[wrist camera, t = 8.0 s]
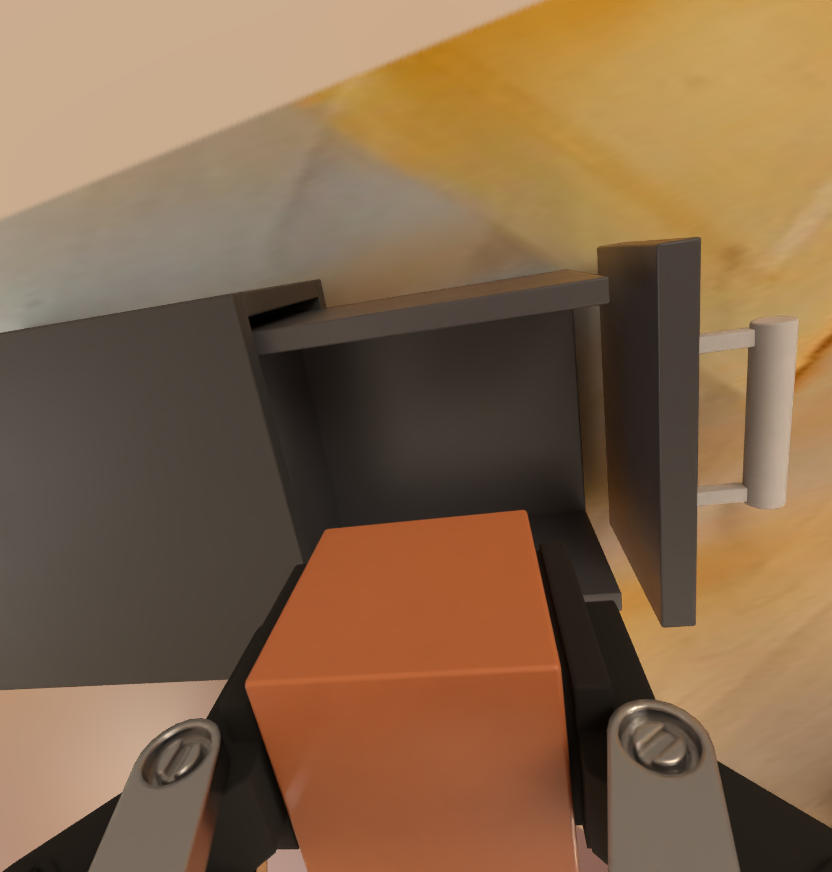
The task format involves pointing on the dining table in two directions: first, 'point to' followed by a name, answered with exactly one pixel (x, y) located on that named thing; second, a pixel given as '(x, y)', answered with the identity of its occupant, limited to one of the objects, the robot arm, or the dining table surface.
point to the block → (420, 702)
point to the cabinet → (142, 493)
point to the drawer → (528, 411)
